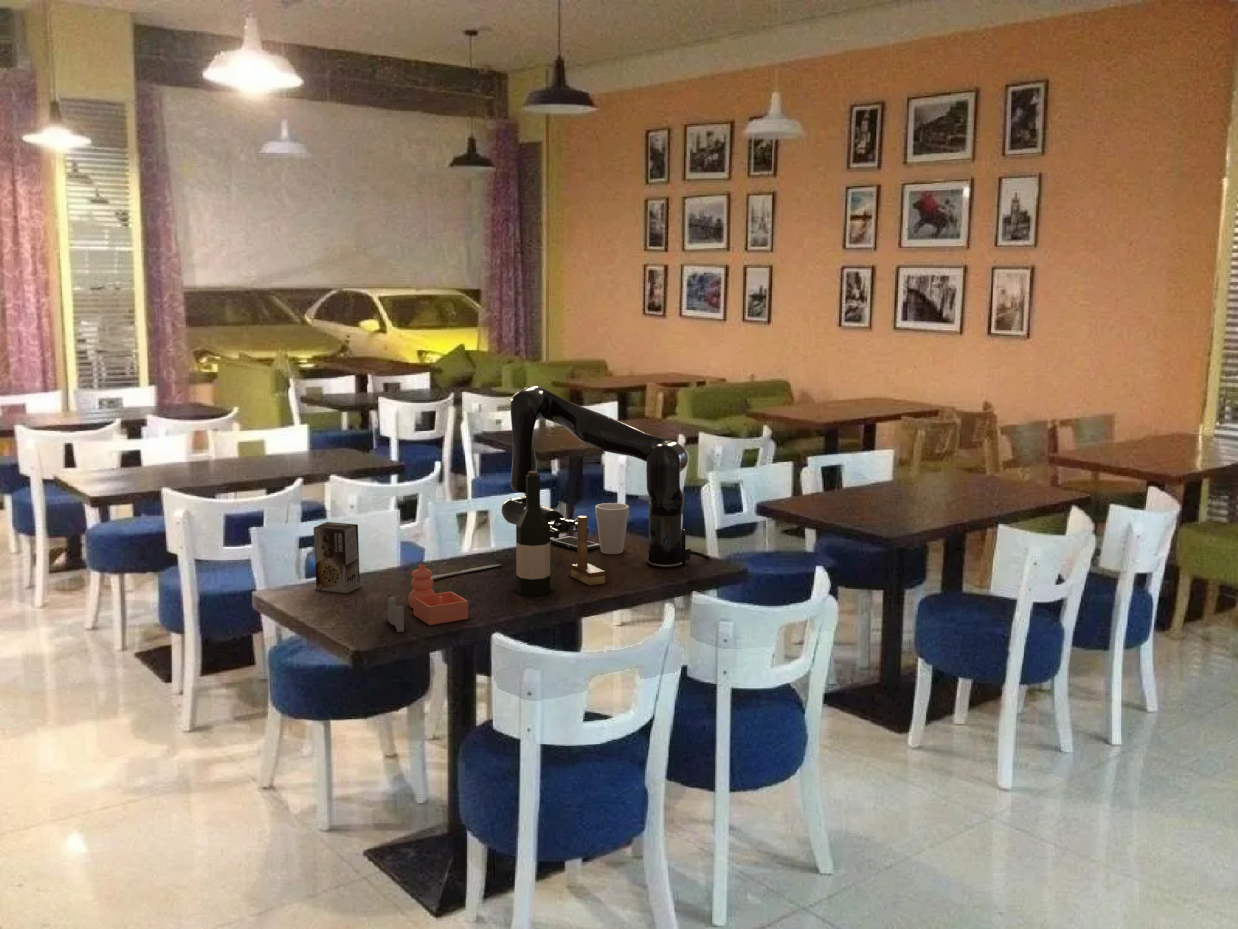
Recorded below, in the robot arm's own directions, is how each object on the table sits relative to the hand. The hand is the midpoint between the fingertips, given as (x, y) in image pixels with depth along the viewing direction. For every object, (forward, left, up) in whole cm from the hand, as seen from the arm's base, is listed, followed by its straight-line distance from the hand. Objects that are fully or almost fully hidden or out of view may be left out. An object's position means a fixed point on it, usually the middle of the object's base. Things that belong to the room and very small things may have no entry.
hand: (572, 533), depth 303 cm
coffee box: (+59, -12, -11) cm, 61 cm away
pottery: (+45, +17, -11) cm, 49 cm away
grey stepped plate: (+56, +23, -11) cm, 61 cm away
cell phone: (-14, -26, -10) cm, 31 cm away
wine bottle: (+17, +12, -11) cm, 23 cm away
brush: (0, +9, -10) cm, 14 cm away
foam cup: (-20, -15, -11) cm, 27 cm away
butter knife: (+26, -12, -11) cm, 30 cm away
